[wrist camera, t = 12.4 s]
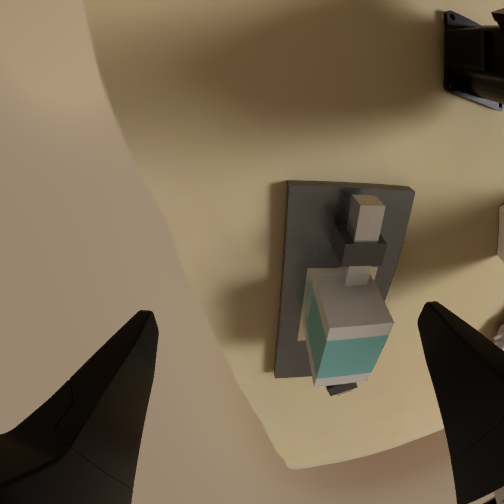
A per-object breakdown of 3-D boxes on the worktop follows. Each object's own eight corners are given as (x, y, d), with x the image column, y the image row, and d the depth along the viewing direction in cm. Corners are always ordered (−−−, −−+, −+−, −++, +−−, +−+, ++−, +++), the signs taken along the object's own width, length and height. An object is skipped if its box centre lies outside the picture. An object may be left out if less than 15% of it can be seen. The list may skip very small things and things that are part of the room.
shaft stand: (408, 186, 19) (436, 210, 16) (354, 364, 30) (362, 394, 27) (287, 180, 19) (296, 205, 16) (274, 370, 30) (276, 402, 27)
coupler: (351, 332, 25) (367, 380, 21) (304, 335, 25) (314, 386, 21) (369, 272, 22) (394, 322, 17) (314, 274, 22) (329, 328, 17)
